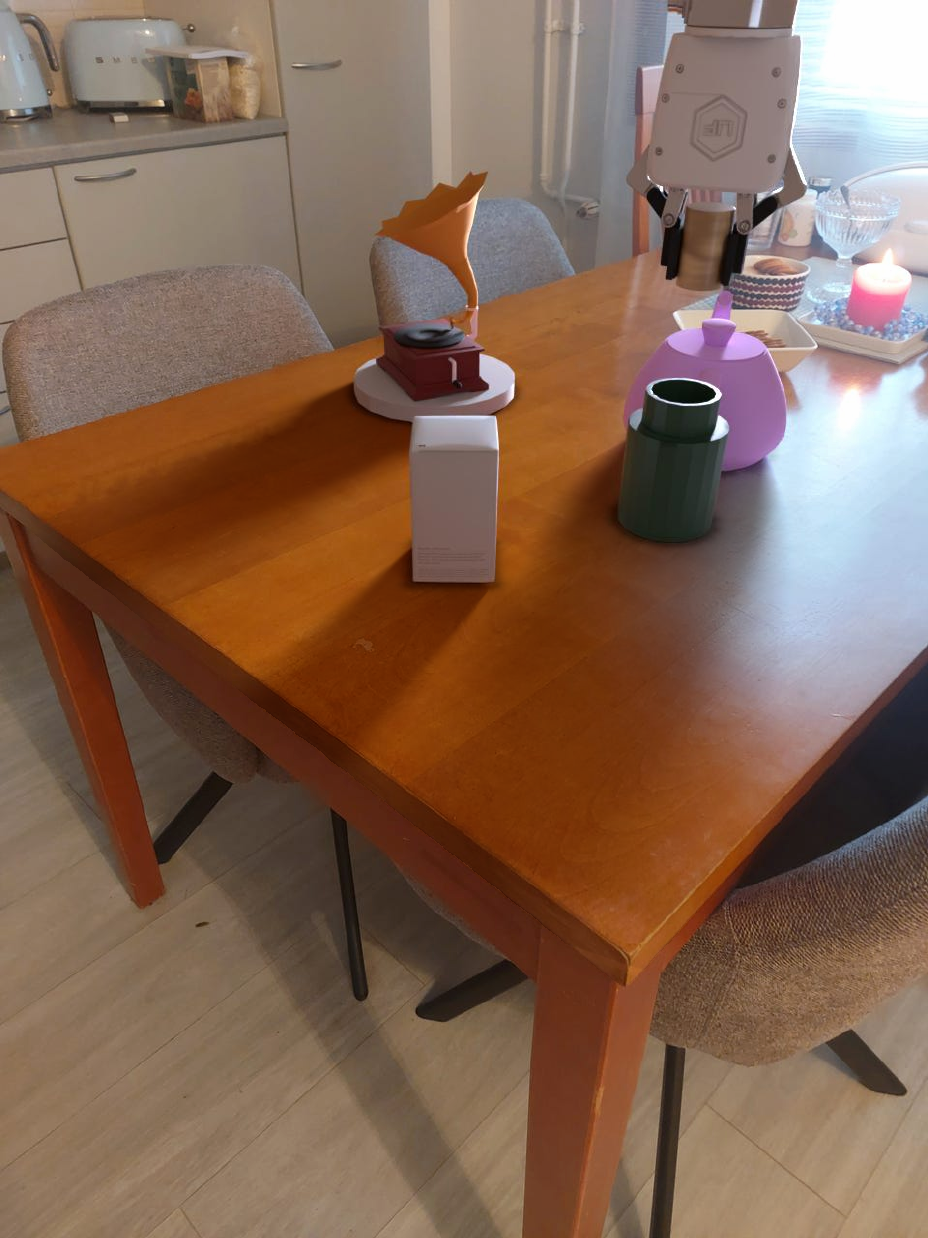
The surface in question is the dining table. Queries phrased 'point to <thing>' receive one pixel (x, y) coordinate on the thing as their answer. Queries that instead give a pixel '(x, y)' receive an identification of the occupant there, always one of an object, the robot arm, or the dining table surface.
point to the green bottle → (673, 461)
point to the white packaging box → (453, 498)
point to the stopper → (704, 245)
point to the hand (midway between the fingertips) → (700, 276)
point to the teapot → (724, 382)
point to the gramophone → (436, 325)
